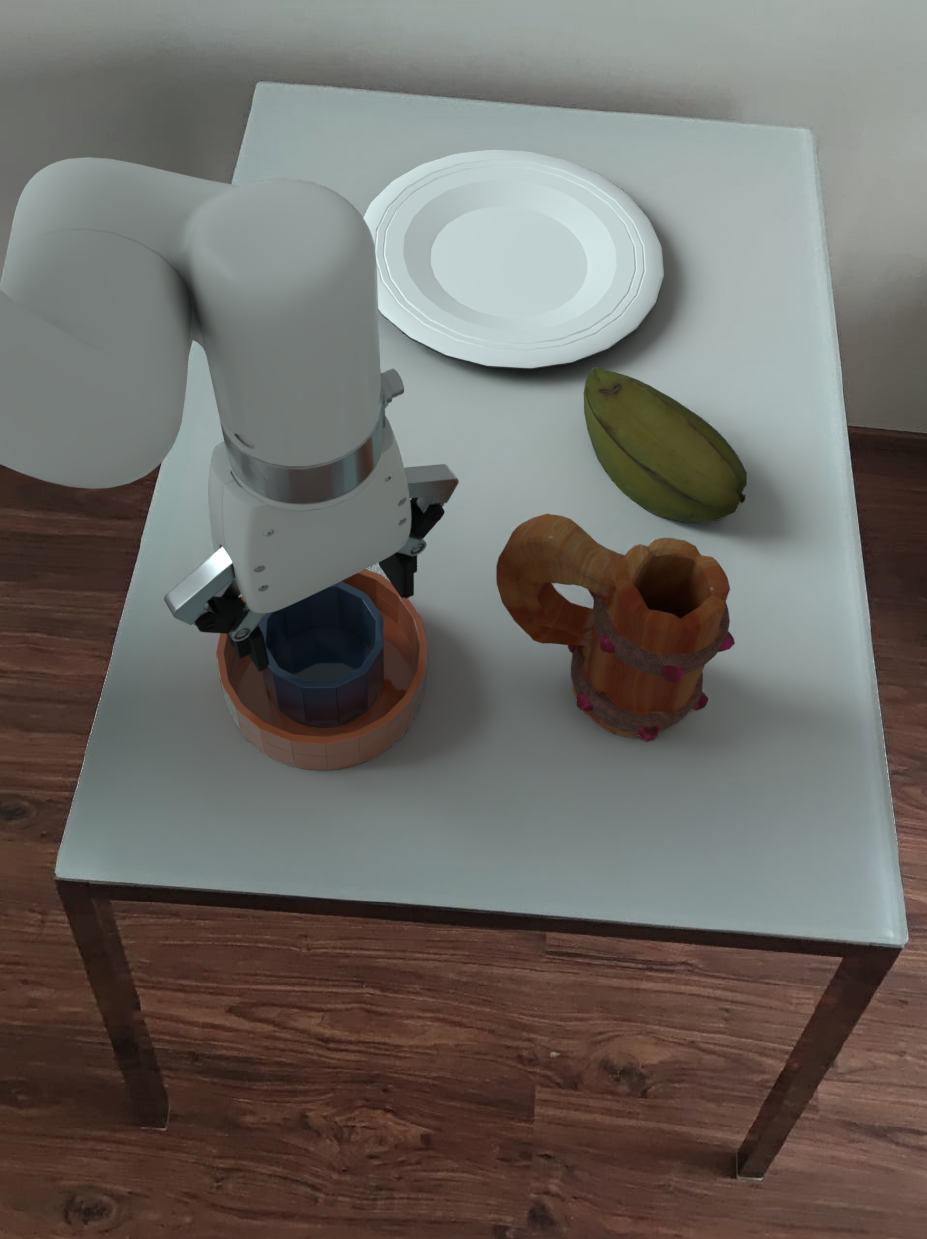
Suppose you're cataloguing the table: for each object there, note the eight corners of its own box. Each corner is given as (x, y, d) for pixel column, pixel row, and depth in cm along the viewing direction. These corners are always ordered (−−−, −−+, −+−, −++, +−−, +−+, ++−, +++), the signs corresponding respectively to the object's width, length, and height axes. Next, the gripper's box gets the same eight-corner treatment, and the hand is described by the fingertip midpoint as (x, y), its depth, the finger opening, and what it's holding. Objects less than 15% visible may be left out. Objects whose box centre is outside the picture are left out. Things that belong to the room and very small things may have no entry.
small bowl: (300, 748, 76) (294, 708, 71) (245, 656, 79) (236, 612, 75) (405, 693, 79) (406, 652, 74) (348, 606, 82) (345, 561, 77)
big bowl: (282, 806, 75) (277, 780, 71) (190, 647, 80) (182, 615, 77) (462, 710, 79) (465, 681, 75) (363, 564, 84) (362, 531, 81)
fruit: (578, 534, 86) (591, 477, 81) (576, 405, 92) (588, 343, 87) (738, 544, 87) (762, 488, 81) (725, 414, 93) (747, 353, 87)
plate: (325, 356, 94) (324, 338, 92) (387, 147, 106) (387, 128, 105) (647, 406, 93) (652, 389, 91) (670, 189, 106) (675, 171, 104)
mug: (716, 676, 81) (777, 549, 68) (675, 778, 77) (731, 663, 64) (515, 592, 84) (537, 455, 71) (465, 687, 80) (479, 559, 67)
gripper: (419, 313, 62) (418, 511, 77) (101, 447, 57) (165, 632, 72) (499, 412, 59) (482, 598, 73) (169, 563, 54) (221, 731, 68)
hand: (325, 615), depth 72 cm, fingers open, 9 cm apart
